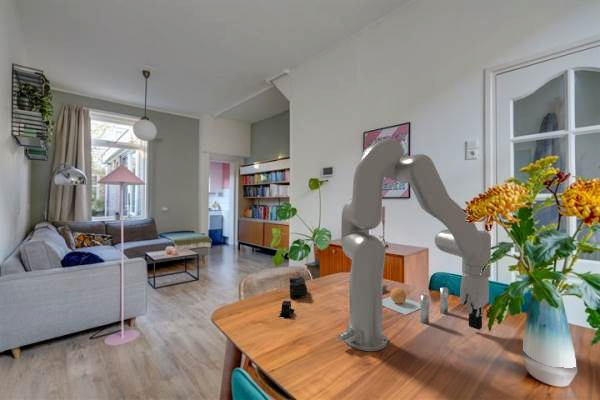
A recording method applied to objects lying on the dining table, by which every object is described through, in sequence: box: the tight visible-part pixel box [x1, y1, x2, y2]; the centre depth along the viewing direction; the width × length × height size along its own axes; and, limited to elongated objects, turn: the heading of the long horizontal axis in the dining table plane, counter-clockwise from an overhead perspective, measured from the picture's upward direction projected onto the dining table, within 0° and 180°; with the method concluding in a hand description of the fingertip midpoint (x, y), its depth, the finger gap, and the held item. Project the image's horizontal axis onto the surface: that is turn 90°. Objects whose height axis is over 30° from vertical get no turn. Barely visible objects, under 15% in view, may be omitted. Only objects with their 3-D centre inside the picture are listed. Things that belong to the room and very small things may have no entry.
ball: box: [389, 287, 407, 304], centre depth 109 cm, size 6×6×6 cm
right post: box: [439, 286, 449, 315], centre depth 100 cm, size 3×3×9 cm
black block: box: [278, 300, 296, 320], centre depth 100 cm, size 12×7×5 cm, turn 173°
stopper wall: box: [382, 283, 388, 293], centre depth 119 cm, size 18×2×2 cm, turn 126°
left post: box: [420, 294, 430, 325], centre depth 93 cm, size 3×3×9 cm
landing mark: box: [382, 296, 421, 316], centre depth 108 cm, size 14×14×1 cm
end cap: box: [289, 276, 308, 300], centre depth 118 cm, size 10×7×7 cm
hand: (475, 327), depth 86 cm, fingers closed
